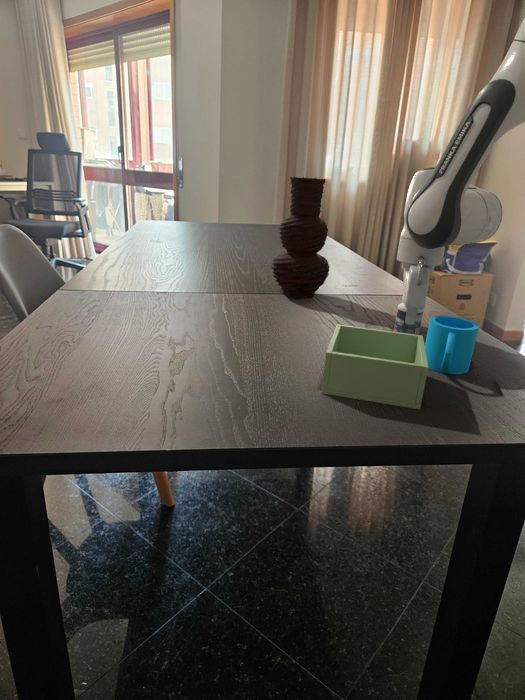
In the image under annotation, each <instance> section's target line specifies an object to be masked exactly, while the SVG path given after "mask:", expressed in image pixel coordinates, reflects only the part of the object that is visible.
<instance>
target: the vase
mask: <svg viewBox="0 0 525 700" xmlns="http://www.w3.org/2000/svg"><path fill="white" fill-rule="evenodd" d="M289 178H290V185H291V187H290V195H291V196H290V205H289V208H290V211H289V213H290V214H289V215H288V216H287V217H286V218H285V219H283V220H282V222H281V223H280V227H279V235H280V236H279V239H280V240H281V241H280V242H281V244H282V245H281V247H282V248H283V249H285V250H286V251H282V252H281V253H280V254H276V258H273V259H272V261H273V262H272V263H271V265H272V266H271V267H270V269H271V270H273V271H272V273H273V275H272V277H273V278H275V282H277V285H278V286H279V287H281V288H280V290H281V291H283V293H282V294H283V295H284V296H285V297H287V298H293V299H297V300H298V299H307V300H308V299H311V298H313V297H314V295H315V293H316V292H317V291H318V290H319V289H320V288H321V287H322V286H323V285H324V283H325V282H326V279H327V278H328V277H329V275H330V273H329V272H330V264H329V260H328V259H327V258H326V257H325V256H323V255H320V254H319V252H320V251H322V249H324V247H325V245H326V241H327V237H328V232H329V228H328V225H327V224H326V222H325V220H324V219H322V218H321V217H320V216H321V212H322V211H321V208H322V199H323V196H324V195H323V194H324V189H325V186H324V185H325V184H326V181H327V178H317V177H314V178H313V177H304V176H302V177H299V176H297V177H296V176H289Z"/></svg>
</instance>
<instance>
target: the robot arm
mask: <svg viewBox="0 0 525 700" xmlns="http://www.w3.org/2000/svg"><path fill="white" fill-rule="evenodd" d="M524 123H525V17H524V18H523V20H522V22H521V23H520V25H519V28H518V29H517V31H516V34H515V36H514V38H513V40H512V43H511V44H510V47H509V48H508V50H507V53H506V54H505V57H504V58H503V60H502V62H501V64H500V65H499V67H498V68H497V70H496V71H495V73H494V75H493V76H492V77H491V79H490V80H489V82H487V84H486V85H485V86H484V87H483V88H482V89H480V91H479V92H478V94H477V95H476V96H475V97H474V99H473V101H472V102H471V103H470V104H469V106H468V108H467V109H466V111H465V112H464V115H463V117H462V118H461V119H460V121H459V123H458V125H457V127H456V129H455V131H454V132H453V134H452V135H451V138H450V140H449V141H448V143H447V145H446V147H445V149H444V151H443V153H442V154H441V156H440V158H439V160H438V162H437V163H436V165H435V166H433V167H426V168H423V169H420V170H418V171H417V172H415V174H414V175H413V177H412V179H411V181H410V184H409V187H408V191H407V193H406V199H405V204H404V210H403V218H404V220H403V221H404V224H403V228H402V230H401V232H400V236H399V242H398V248H397V255H396V261H398V262H400V263H401V269H402V270H403V274H402V275H403V276H402V277H403V278H402V286H403V294H404V300H405V307H406V308H407V311H406V317H405V323H406V324H410V325H413V324H414V321H415V316H416V314H417V311H418V310H423V309H424V308H425V306H426V303H427V298H428V297H427V296H428V291H429V285H430V276H431V274H432V273H434V271H435V267H438V266H441V265H442V264H443V259H444V254H445V250H446V247H448V246H449V247H450V246H463V245H470V244H471V245H472V244H478V243H481V242H485V241H487V240H489V239H491V238H492V237H493V236H494V235H495V234H496V232H497V231H498V230H499V228H500V226H501V222H502V220H503V206H502V203H501V200H500V199H499V197H498V196H497V195H496V194H494V193H493V192H491V191H487V190H486V189H483V188H480V187H479V186H476V185H474V184H472V182H473V180H474V179H475V177H476V175H477V173H478V172H479V170H480V168H481V167H482V165H483V163H484V162H485V160H486V159H487V157H488V155H489V153H490V152H491V150H492V148H493V147H494V146H495V145H496V143H497V142H498V141H499V140H500V139H501V138H502V137H504V135H506V134H507V133H508V132H510V131H511V130H513V129H514V128H516V127H518V126H520V125H522V124H524ZM423 311H424V310H423Z"/></svg>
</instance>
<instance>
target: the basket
mask: <svg viewBox="0 0 525 700" xmlns="http://www.w3.org/2000/svg"><path fill="white" fill-rule="evenodd" d="M332 333H333V334H332V336H331V339H330V341H329V344H328V346H327V349H326V351H325V358H324V367H323V374H322V375H323V376H322V385H321V394H324V395H329V396H335V397H341V398H347V399H354V400H360V401H367V402H372V403H377V404H383V405H390V406H395V407H403V408H407V409H415V410H421V407H422V402H423V397H424V392H425V387H426V383H427V378H428V372H429V368H428V362H427V356H426V351H425V340H424V339H425V338H424V336H423V335H422V334H419V335H415V334H408V333H400V332H394V330H393V331H392V330H385V329H377V328H371V327H370V328H369V327H362V326H354V325H346V324H339V323H337V324H336V326H335V328H334V331H333V332H332Z"/></svg>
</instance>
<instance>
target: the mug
mask: <svg viewBox="0 0 525 700" xmlns="http://www.w3.org/2000/svg"><path fill="white" fill-rule="evenodd" d="M427 327H428V328H427V333H426V338H425V341H424V345H425V351H426V356H427V362H428V369H430V370H433V371H434V372H435V371H436V372H438V373H442V374H449V375H463V374H466V373H468V372H469V370H470V366H471V363H472V358H473V354H474V350H475V345H476V341H477V337H478V333H479V329H480V326H479V324H478V323H476V322H475V321H472V320H471V319H467V318H464V317H458V316H454V315H453V316H451V315H435V316H431V317H430V318H429V322H428V326H427Z"/></svg>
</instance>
